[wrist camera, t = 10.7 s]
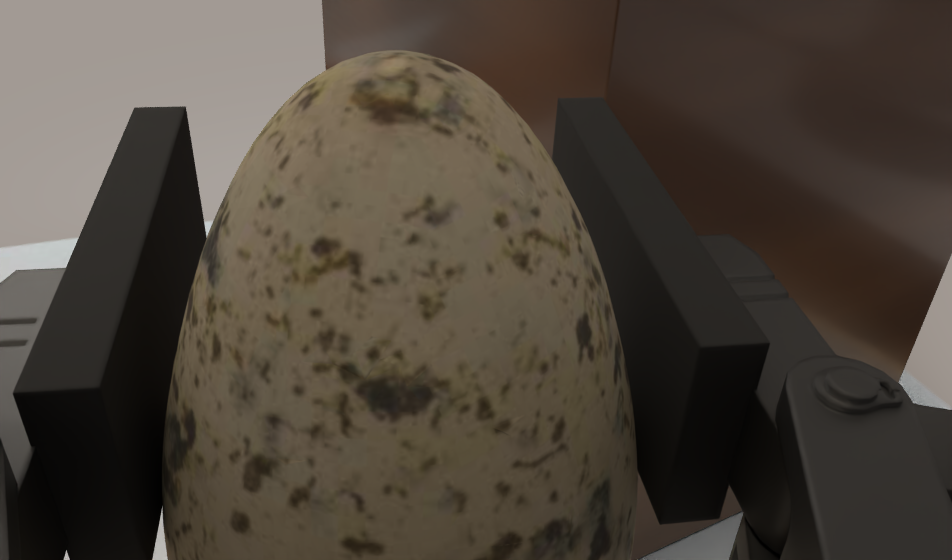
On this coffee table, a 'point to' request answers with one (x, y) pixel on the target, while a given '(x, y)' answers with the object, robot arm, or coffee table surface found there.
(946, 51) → the plinth
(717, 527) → the coffee table surface
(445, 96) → the decorative egg
